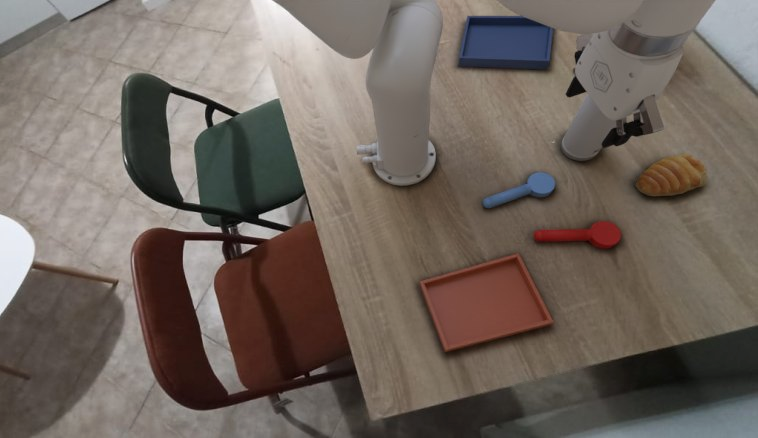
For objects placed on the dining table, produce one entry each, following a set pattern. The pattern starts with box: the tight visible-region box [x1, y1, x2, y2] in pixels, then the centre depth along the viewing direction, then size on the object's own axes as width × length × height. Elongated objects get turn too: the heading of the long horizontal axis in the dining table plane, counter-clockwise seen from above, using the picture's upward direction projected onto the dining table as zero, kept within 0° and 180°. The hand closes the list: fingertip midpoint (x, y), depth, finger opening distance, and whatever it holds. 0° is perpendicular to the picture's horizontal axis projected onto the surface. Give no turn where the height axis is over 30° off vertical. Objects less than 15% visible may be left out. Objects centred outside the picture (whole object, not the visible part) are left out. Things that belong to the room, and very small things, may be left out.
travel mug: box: [560, 92, 616, 162], centre depth 73 cm, size 6×7×20 cm
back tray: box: [457, 15, 554, 70], centre depth 94 cm, size 17×12×2 cm
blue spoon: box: [482, 171, 556, 209], centre depth 81 cm, size 13×4×2 cm, turn 105°
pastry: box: [635, 153, 708, 197], centre depth 74 cm, size 9×7×4 cm
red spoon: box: [532, 220, 622, 249], centre depth 75 cm, size 13×4×2 cm, turn 85°
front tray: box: [419, 252, 554, 353], centre depth 74 cm, size 17×12×2 cm
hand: (594, 117), depth 64 cm, fingers open, 9 cm apart
